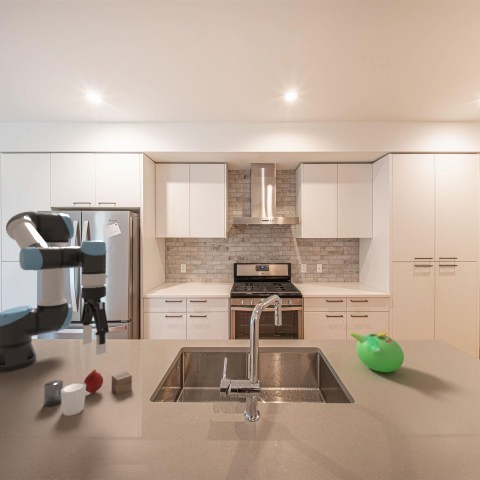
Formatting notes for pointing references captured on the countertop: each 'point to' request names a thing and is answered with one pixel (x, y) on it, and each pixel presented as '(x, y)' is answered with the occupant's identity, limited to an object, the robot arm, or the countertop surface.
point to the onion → (93, 382)
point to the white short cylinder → (73, 398)
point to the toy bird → (379, 352)
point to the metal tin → (52, 393)
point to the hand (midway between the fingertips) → (93, 348)
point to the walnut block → (121, 382)
